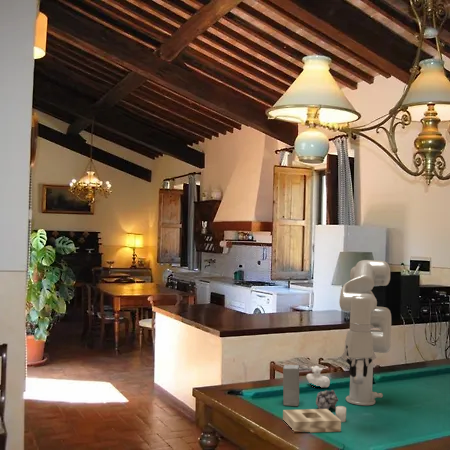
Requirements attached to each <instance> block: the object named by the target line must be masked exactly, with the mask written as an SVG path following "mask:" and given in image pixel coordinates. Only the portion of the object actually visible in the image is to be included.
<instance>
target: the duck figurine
mask: <svg viewBox="0 0 450 450" xmlns="http://www.w3.org/2000/svg"><path fill="white" fill-rule="evenodd" d="M310 369H311V372H312V373H307V374H306V379H307V382H308V383H312V384H314V385H316V386H320V387H321V388H328V387H329V386H330V383H331V380H330V378H329V377H328V376H325V375H322V374H321V372H322V371H324V370H323V369H324V368H323V367H319V365H315V366H311V368H310Z"/></svg>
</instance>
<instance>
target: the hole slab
mask: <svg viewBox="0 0 450 450" xmlns="http://www.w3.org/2000/svg"><path fill="white" fill-rule="evenodd" d="M283 420H284V421H285V422H286V423H287V424H288V425H289V426H290V427H291V428H292V430H294V431H305V432H310V433H332V432H333V433H334V432H341V431H342V422H341V420H340V419H339V418H337V417H336V414H334V413H333V412H331V410H329V408H328V409H319V408H307V409H306V408H305V409H283V410H282V421H283ZM284 421H283V422H284ZM285 422H284V423H285ZM286 423H285V424H286ZM287 424H286V425H287ZM288 425H287V426H288ZM292 430H291V431H292Z"/></svg>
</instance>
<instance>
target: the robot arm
mask: <svg viewBox="0 0 450 450" xmlns="http://www.w3.org/2000/svg"><path fill="white" fill-rule="evenodd" d="M349 276H350V280H349V281H347V282H346V283H344V284H343V286H342V287H341V288H340V289H341V290H340V295H339V303H338V304H339V307H340V309H341V310H342V311H344V312H350V313H349V314H350V315H349V330H347V332H346V336H345V342H344V351H343V353H342V354H341V359H343V360H344V361H345V362H346V363H347V365H348V366H349V369H348V372H349V395H347V396H346V397H345V400H346V402H347V403H350V404H352V405H355V406H356V405H358V406H373V405H375V404H376V399H377V398H383V396H384V395H383V393H382V392H377V391H373V375H374V372H373V371H374V362H373V361H374V360H375V359H377V356H376V353H379V354H386V353H389V352H390V350H391V346H392V313H391V310H390V309H389V307H384V306H377V305H378V301H377V300H378V299H377V298H376V297H375V294H374V293H373V291H372V290H373V288H374V286H380V287H381V286H383V287H384V286H385V287H386V286H388V285H389V283H390V281H391V268H390V265H389V263H388V262H386V261H385V260H379V259H378V260H374V259H362V260H360V261H357V263H356V264H355V265H354V266H353V267H352V268H350V275H349ZM377 329H378V330H377ZM356 358H360V359H364V380H363V384H354V383H353V377H355V366H354V364H355V359H356Z"/></svg>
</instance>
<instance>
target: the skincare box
mask: <svg viewBox="0 0 450 450" xmlns="http://www.w3.org/2000/svg"><path fill="white" fill-rule="evenodd" d="M282 387H283V388H282V390H283V395H282V396H283V397H282V398H283V406H289V407H290V406H292V407H299V405H300V365H299V364H297V365H296V364H285V365H283V368H282Z"/></svg>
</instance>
